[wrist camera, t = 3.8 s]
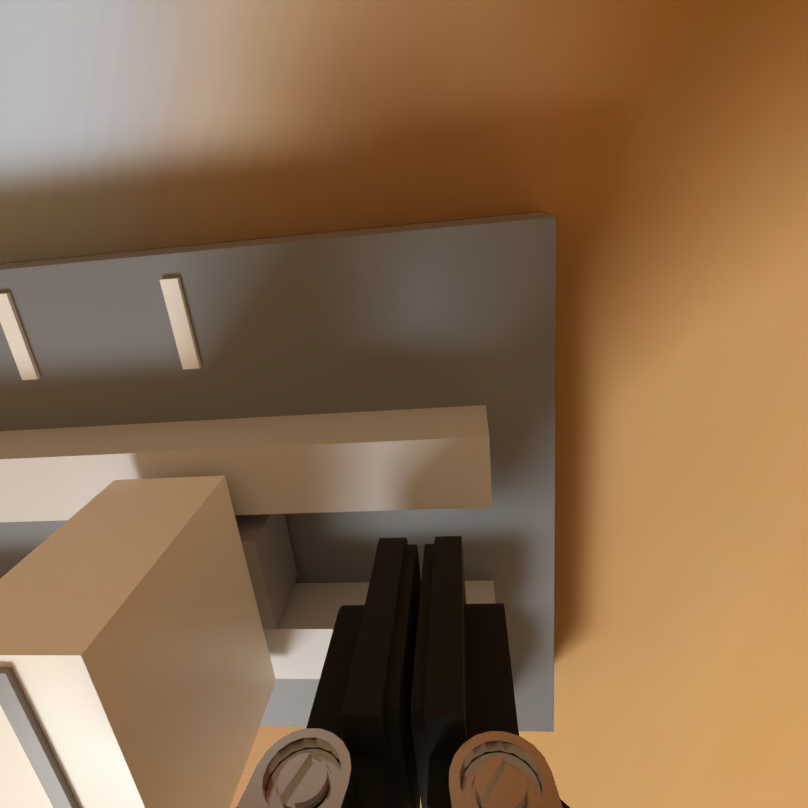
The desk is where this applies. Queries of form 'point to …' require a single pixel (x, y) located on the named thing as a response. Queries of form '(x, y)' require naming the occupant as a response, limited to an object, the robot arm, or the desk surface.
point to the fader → (140, 649)
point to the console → (307, 410)
